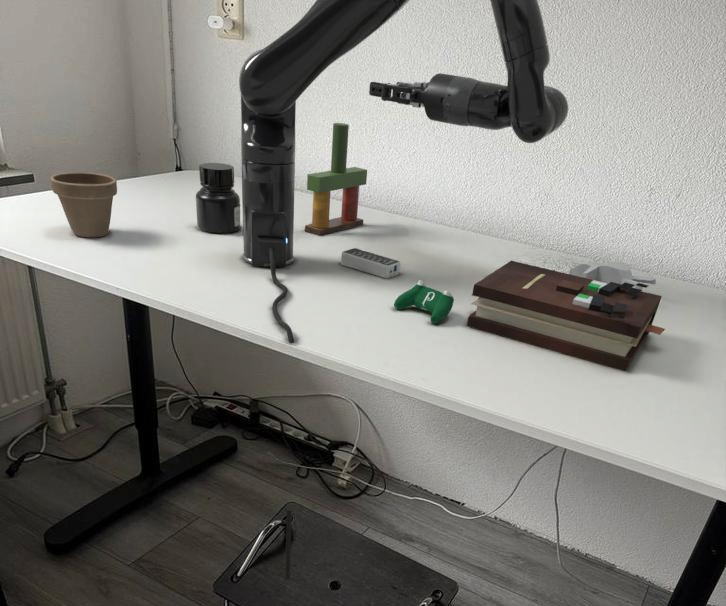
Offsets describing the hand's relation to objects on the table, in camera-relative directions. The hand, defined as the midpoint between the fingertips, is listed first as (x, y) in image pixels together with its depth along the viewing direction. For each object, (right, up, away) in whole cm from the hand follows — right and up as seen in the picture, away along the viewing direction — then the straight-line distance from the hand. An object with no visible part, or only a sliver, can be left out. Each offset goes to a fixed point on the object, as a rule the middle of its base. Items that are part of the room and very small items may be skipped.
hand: (383, 88), depth 126 cm
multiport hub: (-3, -35, -1) cm, 35 cm away
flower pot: (-57, -27, +3) cm, 63 cm away
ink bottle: (-34, -22, +13) cm, 43 cm away
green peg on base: (-9, -12, +16) cm, 22 cm away
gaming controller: (+6, -48, -18) cm, 51 cm away
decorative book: (+28, -51, -19) cm, 61 cm away
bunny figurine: (+43, -39, 0) cm, 58 cm away
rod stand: (-10, -19, +21) cm, 30 cm away
